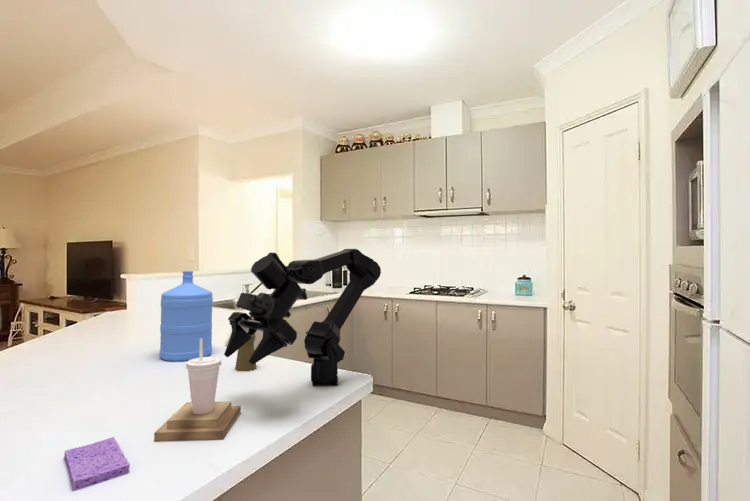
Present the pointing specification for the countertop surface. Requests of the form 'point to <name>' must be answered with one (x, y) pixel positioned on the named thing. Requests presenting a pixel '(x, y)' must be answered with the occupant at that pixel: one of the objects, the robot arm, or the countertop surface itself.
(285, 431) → the countertop surface
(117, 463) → the sponges
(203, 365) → the smoothie
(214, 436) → the walnut base
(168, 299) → the water jug
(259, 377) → the countertop surface
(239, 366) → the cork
